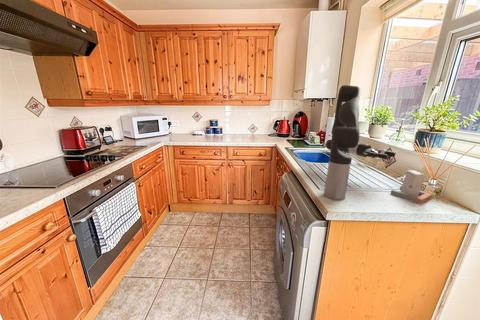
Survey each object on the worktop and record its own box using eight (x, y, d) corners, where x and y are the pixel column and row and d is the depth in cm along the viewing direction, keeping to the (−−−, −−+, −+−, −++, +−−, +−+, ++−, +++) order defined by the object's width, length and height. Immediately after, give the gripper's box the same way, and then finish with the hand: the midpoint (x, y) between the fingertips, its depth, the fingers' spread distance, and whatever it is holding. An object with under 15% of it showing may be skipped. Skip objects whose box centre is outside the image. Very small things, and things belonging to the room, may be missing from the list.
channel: (390, 193, 99) (391, 190, 98) (401, 188, 105) (402, 185, 104) (420, 203, 89) (422, 199, 88) (431, 197, 95) (432, 194, 94)
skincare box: (399, 192, 101) (405, 169, 97) (409, 192, 100) (415, 170, 97) (408, 198, 95) (415, 174, 91) (418, 198, 94) (425, 174, 91)
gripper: (353, 144, 111) (385, 150, 97) (367, 141, 118) (399, 147, 104) (351, 157, 113) (382, 164, 99) (364, 154, 120) (395, 160, 106)
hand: (391, 155), depth 102 cm, fingers open, 8 cm apart
